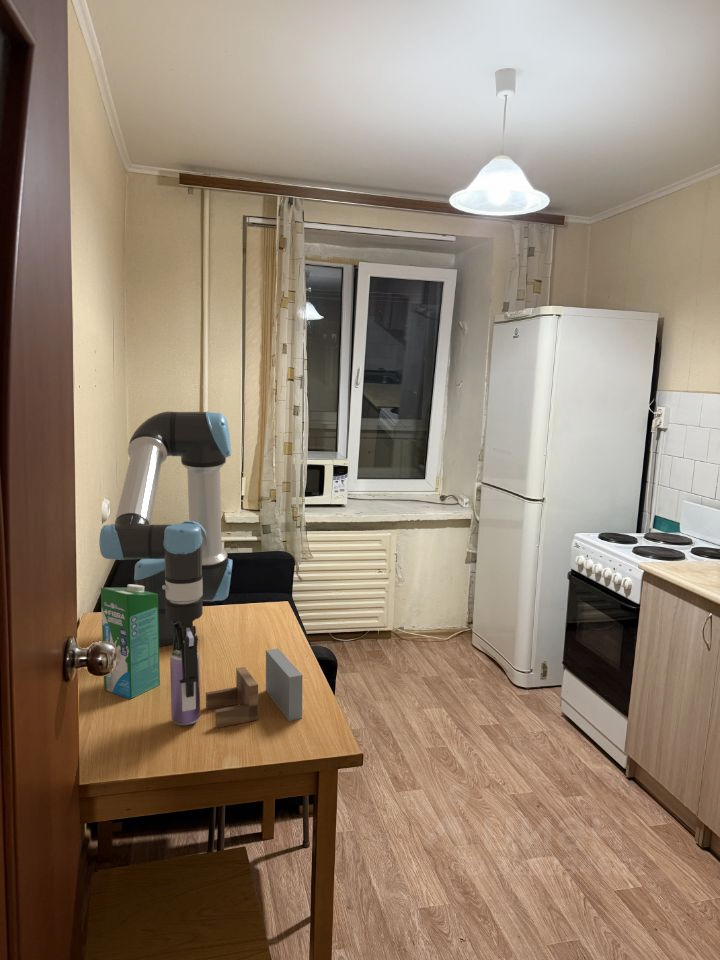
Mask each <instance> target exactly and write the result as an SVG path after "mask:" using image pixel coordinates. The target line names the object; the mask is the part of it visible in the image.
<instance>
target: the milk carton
mask: <svg viewBox="0 0 720 960" xmlns="http://www.w3.org/2000/svg"><path fill="white" fill-rule="evenodd" d="M100 602H101V603H100V605H101V608H100V609H101V633H102V642H103V641H108V642H111V643H113V644H114V645H115V647H116V650H117V661H116V666H115V669H114V670H113V672H111V673H110V674H109V675H106V676H104V675H103V690H105V691H106V692H107V691H108V692H110V693H112V694H116V695H118V696H120V697H123V698H127V699H129V700H132V699H134V698H136V697H138V696H140V695H142V694H144V693H147V692H148V691H150V690H152V689H154V688H156V687H159V686H160V685H161V682H160V681H161V677H160V676H161V675H160V671H161V670H160V646H159V621H158V594H156V593H152V592H148V591H144V586H142V585H135V584H127V586H126V587H101V588H100Z"/></svg>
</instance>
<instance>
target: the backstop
mask: <svg viewBox="0 0 720 960" xmlns="http://www.w3.org/2000/svg"><path fill="white" fill-rule="evenodd" d="M265 692H266V693H267V695H269V697H270V698H271V700H272V701H273V702H274V703H275V705H276V706H277V707H278V709H279V710H280V711H281V713H282V714H283V715H284V716H285V718H286V719H287V720H288V722H290V721H297V720H301V719H303V674H302V673H301V671H300V670H298V668H297V667H296V666H295V665H294V664H293V663H292V662H291V661H290V660H289V659H288V658H287V657H286V656H285V654H284V653H283V652H282V651H281V650H280V649H279V648H274V649H273V648H272V649H266V650H265Z"/></svg>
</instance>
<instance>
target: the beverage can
mask: <svg viewBox="0 0 720 960" xmlns="http://www.w3.org/2000/svg"><path fill="white" fill-rule="evenodd" d="M197 662H198V682H196V709H193V710H188V711H182V683H181V684H180V681H179V680H183V672H182V659H181V650H175V651H173V650H172V652H171V654H170V658H169V664H170V666H169V667H170V668H169V669H170V704H171V705H170V708H171V709H170V710H171V711H170V712H171V717H170V718H171V721H172V722H173V723H174V724H176V725H178V726H188V725H189V726H190V725H192V724H194V723H196V722H198V720H199V718H200V717H201V683H200V681H201V678H200V676H201V675H200V667H201V666H200V655H199V650H197Z"/></svg>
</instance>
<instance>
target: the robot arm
mask: <svg viewBox="0 0 720 960" xmlns="http://www.w3.org/2000/svg"><path fill="white" fill-rule="evenodd" d="M229 428H230V427H229V424H228V420H227V417H226V415H224V414H223V413H222V412H221V413H220V412H211V411H163V412H159V413H157V414H154V415H153V416H151V417H149V418H147V419H146V420H145V421H143V422H142V423H141V424H140V425H139V426H138V427H137V428H136V430H135V431H134V432H133V434H132V435H131V437H130V439H129V443H128V445H127V454H128V457H129V461H128V465H127V470H126V474H125V479H124V482H123V486H122V490H121V493H120V494H121V495H120V498H119V499H120V500H119V502H118V503H119V504H118V507H117V512H116V515H115V519H114V523H111V524H105V525H104V526H102V528H101V529H100V532H99V552H100V554H101V556H102V557H103V558H104V559H106V560H119V561H124V560H139V561H137V562H136V563H135V565H134V577H133V580H134V585H142V586H144V591H148V592H152V593H156V594H158V621H159V647H163V646H169V645H172V652H173V651H175V650H181V659H182V672H183V680H179V681H180V684H181V683H182V711H188V710H193V709H196V682H198V662H197V651H198V641H199V640H198V639H199V637H198V635H197V634H196V633H197V630H196V625H194V623H193V622H194V621H195V620H198V619H200V618H201V617H202V616H203V613H204V611H203V607H204V606H203V602H215V601H224V600H226V599H227V598H228V597H229V592H230V586H231V580H232V579H231V578H232V569H233V559H230V558H228V552H226V551H225V550H224V549H223V548H222V546H223V544H222V543H223V542H222V506H221V505H222V503H221V501H222V498H221V497H222V496H221V495H222V493H221V468H223V466H224V465H225V464H226V462H227V458H229V457H231V455H232V444H231V435H230V429H229ZM170 456H171V457H180V459H181V460H180V462H181V465H182V466H183V467H184V468H185V469H186V471H187V491H188V492H187V495H188V496H187V497H188V520H186V521H182V522H180V523H173V524H151V523H152V518H153V512H154V505H155V500H156V495H157V490H158V484H159V478H160V473H161V467H162V464H164V463H165V461H166V459H167V457H170Z"/></svg>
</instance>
